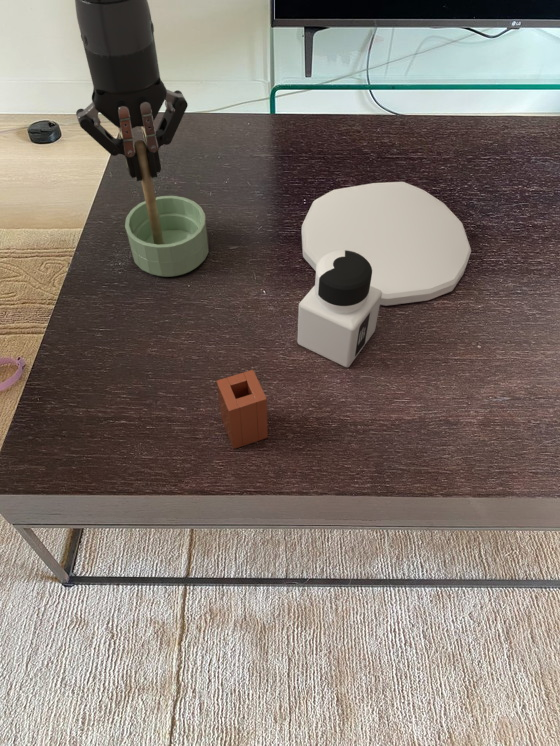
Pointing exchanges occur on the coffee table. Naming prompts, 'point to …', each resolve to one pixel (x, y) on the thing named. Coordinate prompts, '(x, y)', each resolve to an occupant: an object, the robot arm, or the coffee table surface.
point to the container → (339, 308)
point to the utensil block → (243, 408)
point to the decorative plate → (391, 238)
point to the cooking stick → (149, 192)
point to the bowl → (169, 237)
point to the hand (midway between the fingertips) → (145, 175)
